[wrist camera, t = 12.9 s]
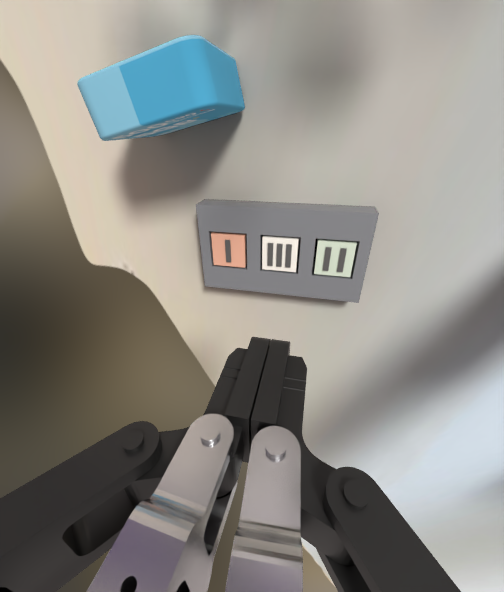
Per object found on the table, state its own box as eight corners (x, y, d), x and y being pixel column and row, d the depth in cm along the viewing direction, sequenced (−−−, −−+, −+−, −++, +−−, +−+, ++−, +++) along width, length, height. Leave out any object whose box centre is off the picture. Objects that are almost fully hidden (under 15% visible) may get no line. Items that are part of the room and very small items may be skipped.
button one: (249, 228, 39) (244, 236, 37) (250, 258, 42) (244, 268, 39) (218, 226, 40) (210, 234, 37) (220, 256, 42) (213, 265, 40)
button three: (300, 231, 38) (298, 240, 35) (297, 263, 40) (295, 272, 38) (266, 229, 39) (262, 237, 36) (266, 260, 41) (261, 269, 38)
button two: (354, 235, 36) (356, 244, 34) (348, 267, 39) (350, 277, 36) (318, 232, 37) (317, 241, 35) (314, 264, 40) (313, 274, 37)
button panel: (374, 206, 34) (378, 213, 32) (356, 291, 41) (358, 302, 38) (204, 199, 38) (195, 204, 36) (211, 277, 45) (204, 286, 42)
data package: (158, 136, 36) (93, 142, 26) (144, 94, 33) (67, 82, 24) (248, 109, 32) (213, 104, 22) (238, 59, 30) (194, 29, 20)
